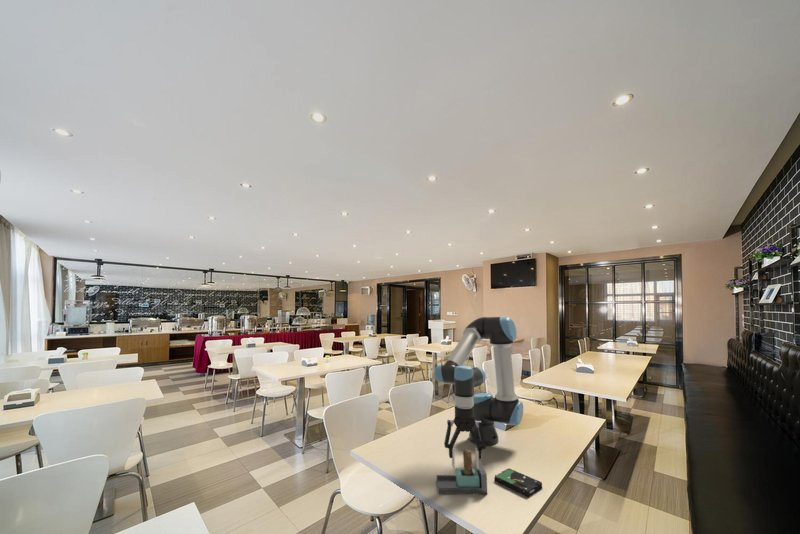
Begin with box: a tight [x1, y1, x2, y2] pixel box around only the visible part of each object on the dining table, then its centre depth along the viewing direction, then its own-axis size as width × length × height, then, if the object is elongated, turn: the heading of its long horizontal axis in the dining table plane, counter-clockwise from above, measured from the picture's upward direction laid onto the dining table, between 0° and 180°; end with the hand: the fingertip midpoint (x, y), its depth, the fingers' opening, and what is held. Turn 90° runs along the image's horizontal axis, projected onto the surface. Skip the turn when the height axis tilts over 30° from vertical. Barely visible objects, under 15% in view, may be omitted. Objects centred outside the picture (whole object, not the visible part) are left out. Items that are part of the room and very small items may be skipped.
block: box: [455, 467, 480, 487], centre depth 123 cm, size 8×7×4 cm
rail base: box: [436, 461, 488, 495], centre depth 123 cm, size 18×10×7 cm, turn 88°
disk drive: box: [493, 468, 543, 499], centre depth 124 cm, size 10×3×15 cm
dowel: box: [462, 448, 473, 476], centre depth 124 cm, size 3×3×12 cm
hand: (465, 467), depth 124 cm, fingers open, 9 cm apart
